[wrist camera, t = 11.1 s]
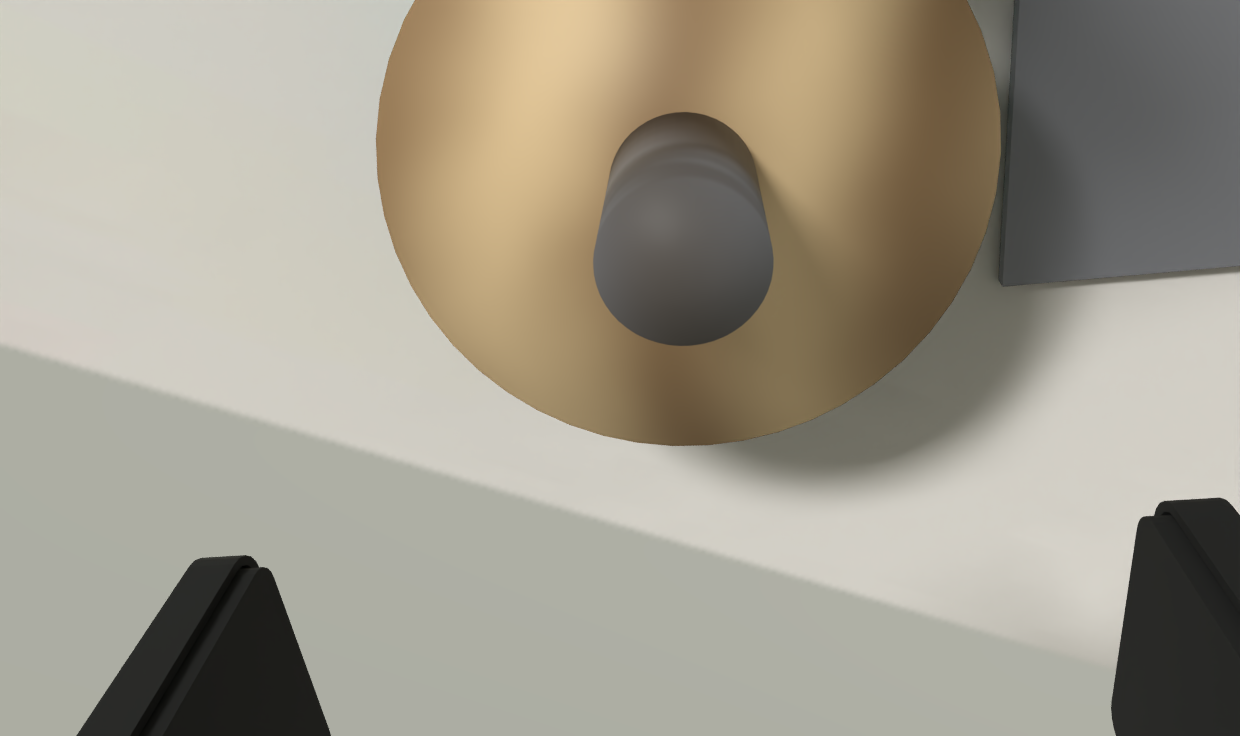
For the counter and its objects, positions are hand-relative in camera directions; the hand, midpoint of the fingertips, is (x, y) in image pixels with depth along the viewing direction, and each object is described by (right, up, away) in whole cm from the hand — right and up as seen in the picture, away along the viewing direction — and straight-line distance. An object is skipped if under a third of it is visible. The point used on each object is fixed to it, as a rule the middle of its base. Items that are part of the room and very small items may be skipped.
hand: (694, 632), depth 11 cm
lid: (+1, +8, +15) cm, 16 cm away
